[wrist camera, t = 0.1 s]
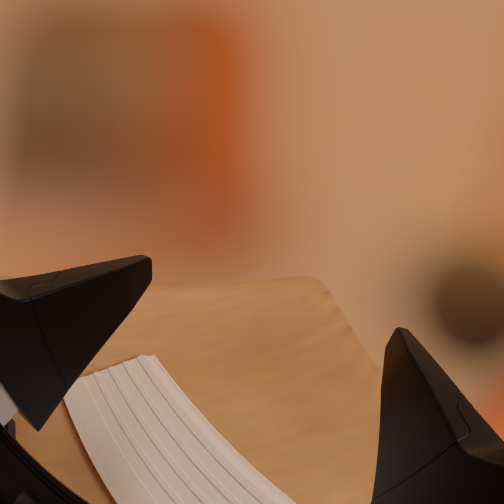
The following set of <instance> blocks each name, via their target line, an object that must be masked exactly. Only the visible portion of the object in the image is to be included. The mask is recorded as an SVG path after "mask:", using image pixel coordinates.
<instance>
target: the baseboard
mask: <svg viewBox="0 0 504 504" xmlns="http://www.w3.org/2000/svg"><path fill="white" fill-rule="evenodd" d="M63 398H64V400H65V403H66V406H67V408H68V411H69V413H70V416H71V418H72V421H73V423H74V425H75V428H76V430H77V432H78V434H79V436H80V439H81V441H82V443H83V445H84V447H85V449H86V451H87V453H88V455H89V457H90V459H91V461H92V463H93V464H94V466H95V468H96V470H97V472H98V473H99V475H100V477H101V479H102V480H103V482H104V484H105V485H106V487H107V489H108V490H109V492H110V493H111V495H112V497H113V498H114V500H115V501H116V503H117V504H296V503H295V502H294V501H293V500H291V499H290V498H289V497H287V496H286V495H285V494H284V493H283V492H281V491H280V490H279V489H278V488H277V487H275V486H274V485H273V484H272V483H271V482H270V481H268V480H267V479H266V478H265V477H264V476H263V475H262V474H260V473H259V472H258V471H257V470H256V469H255V468H254V467H253V466H252V465H251V464H250V463H249V462H247V461H246V460H245V459H244V458H243V457H242V456H241V455H240V454H239V453H238V452H237V451H236V450H235V449H234V448H233V447H232V446H231V445H230V444H229V443H228V442H227V441H226V440H225V439H224V438H223V437H222V436H221V435H220V433H219V432H218V431H217V430H216V429H215V428H214V427H213V426H212V425H211V424H210V423H209V422H208V420H207V419H206V418H205V417H204V416H203V415H202V414H201V413H200V411H199V410H198V409H197V408H196V407H195V406H194V405H193V403H192V402H191V401H190V400H189V399H188V397H187V396H186V395H185V394H184V393H183V391H182V390H181V389H180V388H179V386H178V385H177V384H176V383H175V381H174V380H173V379H172V378H171V376H170V375H169V374H168V373H167V371H166V370H165V369H164V367H163V366H162V365H161V363H160V362H159V361H158V359H157V358H156V357H155V355H154V354H153V355H151V356H145V355H140V356H138V357H136V358H134V359H132V360H129V361H125V362H122V363H121V364H118V365H116V366H113V367H112V366H111V367H108V368H107V369H105V370H102V371H99V372H94V373H93V374H91V375H88V376H85V377H80V378H77V380H76V381H75V382H74V384H73V385H72V386H71V388H70V389H69V390H68V392H67V393H66V395H65V396H64V397H63Z"/></svg>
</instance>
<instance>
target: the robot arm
mask: <svg viewBox="0 0 504 504" xmlns="http://www.w3.org/2000/svg"><path fill="white" fill-rule="evenodd" d="M151 280H152V260H151V258H150V257H147V256H144V255H137V256H132V257H127V258H121V259H116V260H111V261H106V262H101V263H96V264H91V265H86V266H81V267H76V268H71V269H66V270H62V271H56V272H51V273H46V274H40V275H34V276H28V277H21V278H14V279H7V280H0V504H90V503H89V502H87V501H86V500H84V499H83V498H82V497H80V496H79V495H77V494H76V493H75V492H73V491H72V490H71V489H70V488H68V487H67V486H66V485H64V484H63V483H62V482H61V481H59V480H58V479H57V478H56V477H55V476H53V475H52V474H51V473H50V472H49V471H48V470H47V469H45V468H44V467H43V466H42V465H41V464H40V463H39V462H38V461H37V460H36V459H35V458H33V457H32V456H31V455H30V454H29V453H28V452H27V451H26V450H25V449H24V448H23V447H22V446H21V445H20V444H19V442H18V441H17V440H16V436H15V421H14V420H13V419H12V418H13V417H14V416H15V415H16V414H17V412H18V413H19V414H20V415H21V416H22V417H23V418H24V419H25V420H26V421H27V422H28V423H29V424H30V425H31V426H32V427H33V428H34V429H36V430H37V431H38V432H39V431H40V430H41V428H42V427H43V425H44V424H45V423H46V421H47V420H48V418H49V417H50V415H51V414H52V413H53V411H54V410H55V408H56V407H57V406H58V404H59V403H60V402H61V400H62V399H63V397H64V396H65V395H66V393H67V392H68V390H69V389H70V388H71V386H72V385H73V384H74V382H75V381H76V380H77V378H78V377H79V376H80V375H81V373H82V372H83V371H84V369H85V368H86V367H87V365H88V364H89V363H90V362H91V360H92V359H93V358H94V356H95V355H96V354H97V353H98V351H99V350H100V349H101V348H102V346H103V345H104V344H105V343H106V341H107V340H108V339H109V338H110V336H111V335H112V334H113V333H114V332H115V330H116V329H117V328H118V327H119V325H120V324H121V323H122V322H123V321H124V319H125V318H126V317H127V316H128V315H129V313H130V312H131V311H132V309H133V308H134V306H135V305H136V303H137V302H138V301H139V299H140V298H141V296H142V295H143V293H144V292H145V290H146V289H147V287H148V286H149V284H150V283H151ZM371 504H504V441H503V440H502V439H501V438H500V437H499V436H498V435H497V434H496V433H495V431H494V430H493V429H492V428H491V427H490V426H489V424H487V422H486V421H485V420H484V419H483V418H482V417H481V415H480V414H479V413H478V412H477V411H476V410H475V409H474V407H473V406H472V405H471V404H470V403H469V401H468V400H467V399H466V397H465V396H464V395H463V394H462V393H460V390H459V389H458V387H457V386H456V385H455V384H454V382H453V381H452V380H451V379H450V378H449V376H448V375H447V374H446V373H445V372H444V370H443V369H442V368H441V367H440V366H439V364H438V363H437V362H436V361H435V360H434V359H433V357H432V356H431V355H430V354H429V353H428V352H427V350H426V349H425V348H424V347H423V346H422V345H421V344H420V342H419V341H418V340H417V339H416V338H415V337H414V336H413V335H412V333H411V332H410V331H409V330H408V329H405V328H401V327H398V328H396V329H395V331H394V332H393V334H392V336H391V338H390V340H389V342H388V343H387V346H386V348H385V356H384V366H383V376H382V384H381V411H380V431H379V445H378V456H377V466H376V475H375V482H374V489H373V496H372V501H371Z"/></svg>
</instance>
